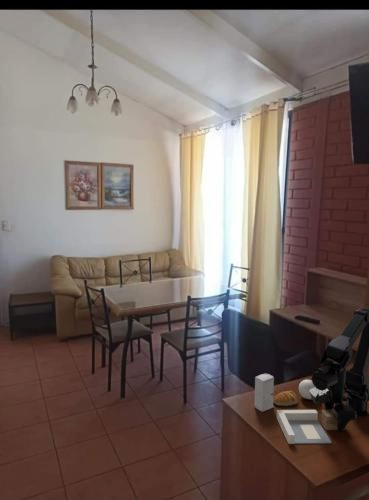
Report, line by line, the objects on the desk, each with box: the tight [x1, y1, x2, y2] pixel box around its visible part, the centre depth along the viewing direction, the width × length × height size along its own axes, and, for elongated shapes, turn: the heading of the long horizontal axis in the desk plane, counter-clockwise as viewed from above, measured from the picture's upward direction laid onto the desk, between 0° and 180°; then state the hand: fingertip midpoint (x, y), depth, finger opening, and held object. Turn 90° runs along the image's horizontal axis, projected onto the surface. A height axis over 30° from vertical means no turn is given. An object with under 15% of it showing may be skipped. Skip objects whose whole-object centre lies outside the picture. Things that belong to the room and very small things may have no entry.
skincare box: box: [254, 372, 275, 413], centre depth 134 cm, size 6×4×12 cm
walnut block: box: [320, 409, 348, 431], centre depth 123 cm, size 7×4×5 cm, turn 91°
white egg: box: [298, 379, 315, 400], centre depth 141 cm, size 10×7×7 cm
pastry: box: [273, 390, 299, 407], centre depth 138 cm, size 9×7×4 cm
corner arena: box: [276, 409, 333, 445], centre depth 121 cm, size 14×14×3 cm
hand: (333, 423), depth 123 cm, fingers open, 9 cm apart
